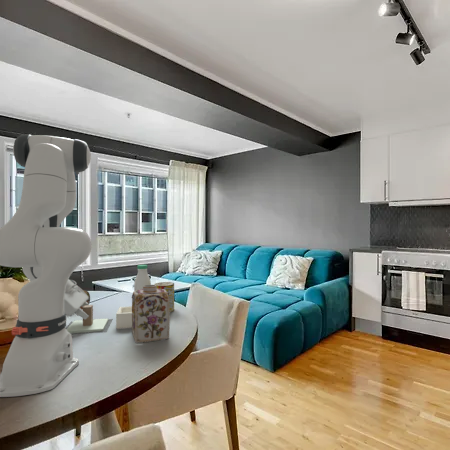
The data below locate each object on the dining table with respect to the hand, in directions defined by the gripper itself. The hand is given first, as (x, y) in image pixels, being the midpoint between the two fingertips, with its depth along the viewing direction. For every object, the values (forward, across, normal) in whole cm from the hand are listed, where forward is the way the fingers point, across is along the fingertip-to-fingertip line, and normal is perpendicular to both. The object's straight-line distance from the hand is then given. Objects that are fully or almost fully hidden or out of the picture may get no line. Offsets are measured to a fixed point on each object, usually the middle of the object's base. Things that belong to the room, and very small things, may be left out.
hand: (89, 314), depth 122 cm
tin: (-4, +27, +11) cm, 29 cm away
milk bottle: (+17, +26, -9) cm, 32 cm away
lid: (+3, 0, +4) cm, 4 cm away
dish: (+14, 0, -7) cm, 16 cm away
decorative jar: (+20, -14, -13) cm, 28 cm away
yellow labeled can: (+24, +19, -16) cm, 35 cm away
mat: (+3, 0, +4) cm, 5 cm away
